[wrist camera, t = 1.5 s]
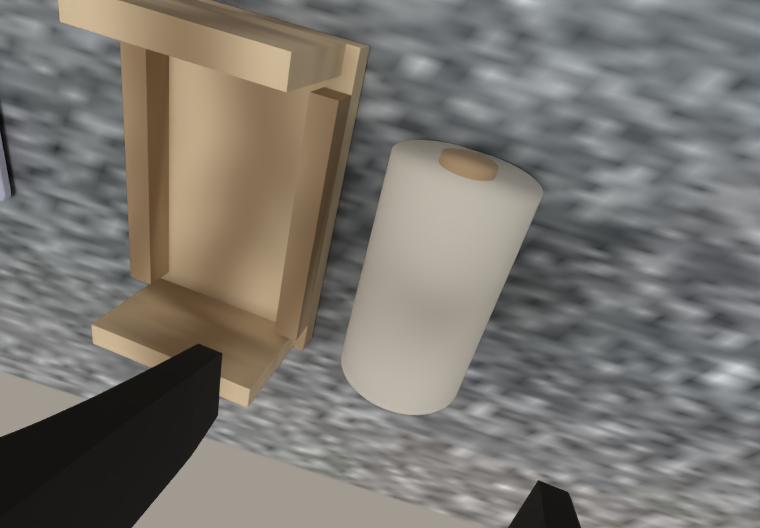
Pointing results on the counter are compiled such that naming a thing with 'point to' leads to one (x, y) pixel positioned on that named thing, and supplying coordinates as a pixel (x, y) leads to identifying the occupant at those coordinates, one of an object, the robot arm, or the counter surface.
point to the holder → (226, 178)
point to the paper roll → (433, 272)
